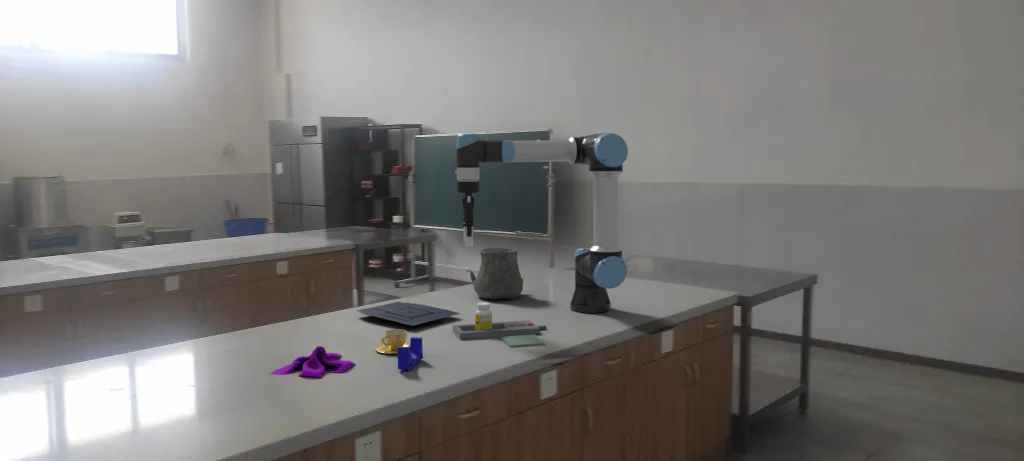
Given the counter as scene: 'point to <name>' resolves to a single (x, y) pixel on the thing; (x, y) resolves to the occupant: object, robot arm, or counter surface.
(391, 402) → the counter surface
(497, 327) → the rectangular frame
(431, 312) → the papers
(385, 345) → the cup
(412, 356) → the cable clip
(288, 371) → the cloth
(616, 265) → the robot arm
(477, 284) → the vessel
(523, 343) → the rubber mat
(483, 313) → the supplement bottle
